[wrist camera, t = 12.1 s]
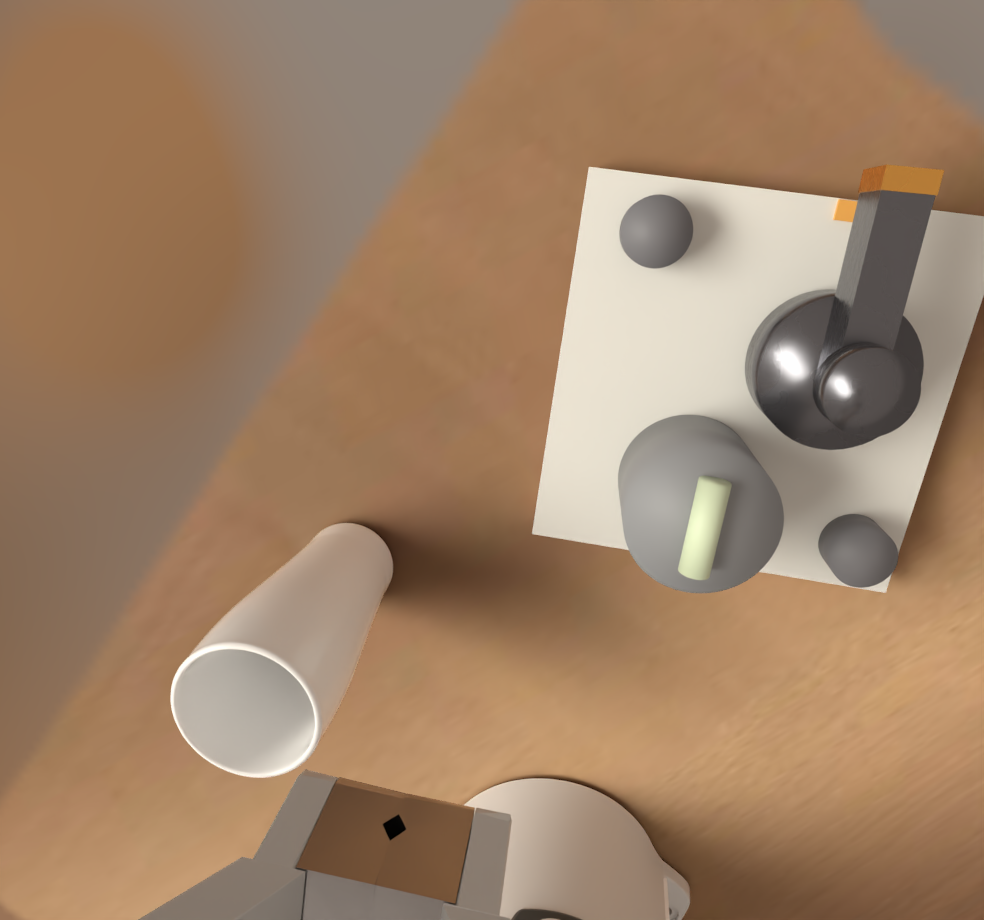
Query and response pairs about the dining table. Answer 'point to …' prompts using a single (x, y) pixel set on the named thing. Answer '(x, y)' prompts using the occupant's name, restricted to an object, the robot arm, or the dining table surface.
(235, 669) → the drinking glass
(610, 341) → the base
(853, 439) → the knob
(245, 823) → the dining table surface
